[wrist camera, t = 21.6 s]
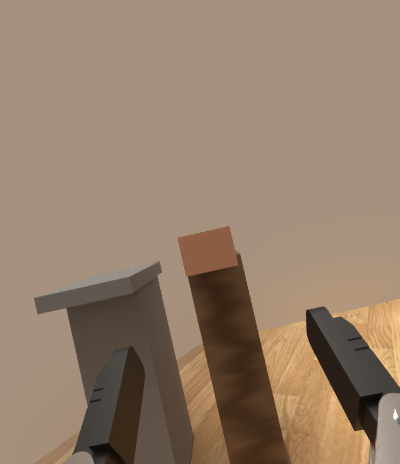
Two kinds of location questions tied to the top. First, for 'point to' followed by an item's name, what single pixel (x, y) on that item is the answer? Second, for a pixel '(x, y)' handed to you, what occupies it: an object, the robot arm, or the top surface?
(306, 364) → the top surface
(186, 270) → the beam
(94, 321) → the pedestal
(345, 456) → the top surface
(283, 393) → the top surface
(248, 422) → the gate
